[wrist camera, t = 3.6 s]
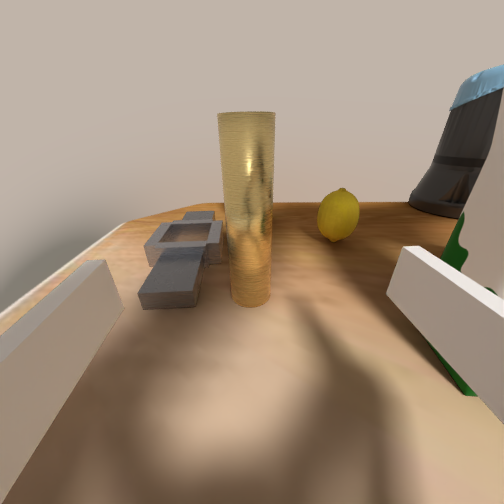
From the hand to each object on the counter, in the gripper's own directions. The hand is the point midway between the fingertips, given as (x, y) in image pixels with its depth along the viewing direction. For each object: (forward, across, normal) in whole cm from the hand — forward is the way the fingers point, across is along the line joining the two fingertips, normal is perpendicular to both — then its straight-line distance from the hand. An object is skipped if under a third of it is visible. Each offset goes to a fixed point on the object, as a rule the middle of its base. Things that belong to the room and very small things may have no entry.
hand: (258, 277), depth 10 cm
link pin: (+10, 0, -9) cm, 13 cm away
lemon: (+21, +13, -9) cm, 26 cm away
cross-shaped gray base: (+20, -8, -9) cm, 23 cm away
